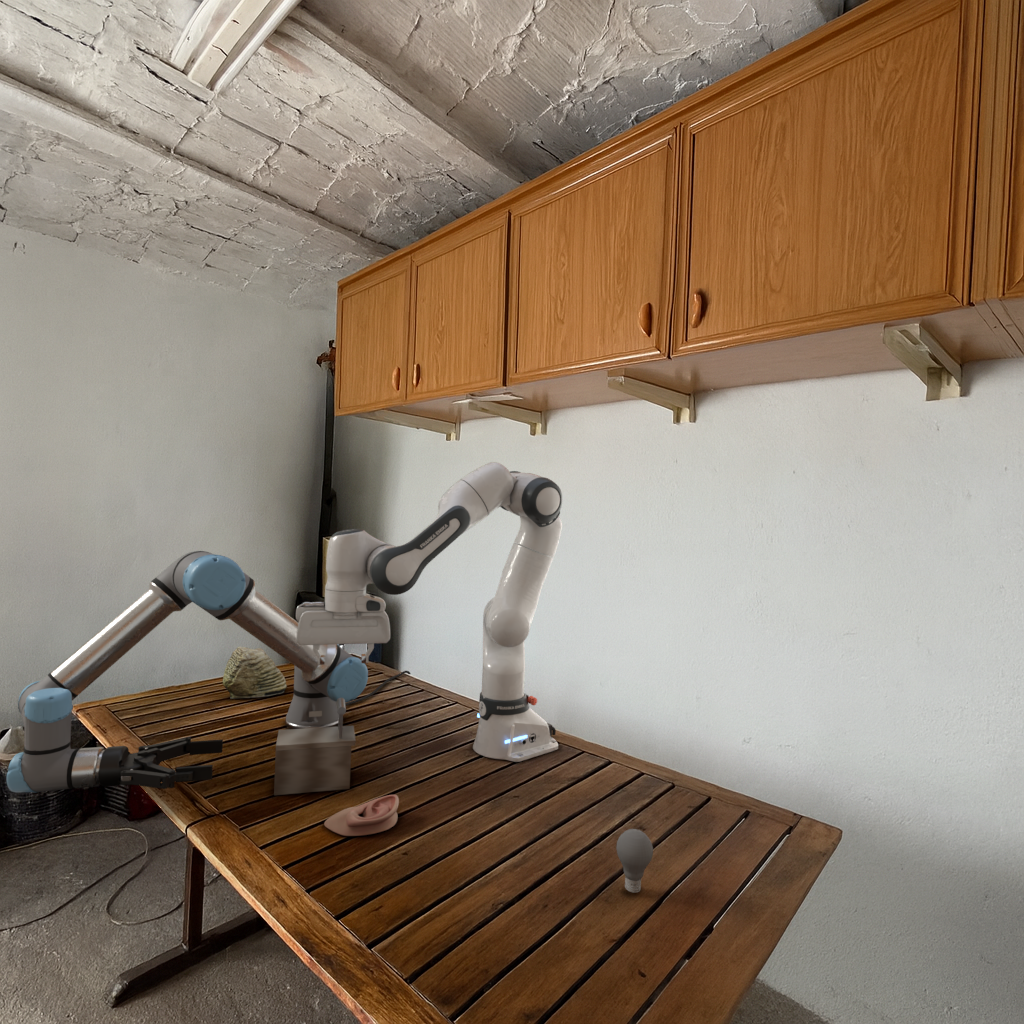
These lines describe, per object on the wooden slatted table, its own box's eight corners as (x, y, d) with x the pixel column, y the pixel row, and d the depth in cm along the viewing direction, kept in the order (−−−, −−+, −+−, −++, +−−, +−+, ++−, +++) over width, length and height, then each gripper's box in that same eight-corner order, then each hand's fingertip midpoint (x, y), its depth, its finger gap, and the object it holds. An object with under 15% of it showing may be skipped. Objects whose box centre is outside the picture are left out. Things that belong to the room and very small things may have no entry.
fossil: (218, 695, 195) (220, 647, 195) (278, 685, 208) (279, 640, 207) (228, 703, 189) (230, 653, 188) (289, 692, 201) (290, 645, 201)
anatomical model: (316, 810, 120) (344, 784, 131) (316, 831, 120) (344, 803, 131) (382, 821, 117) (405, 793, 128) (381, 842, 117) (404, 812, 128)
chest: (347, 771, 147) (349, 730, 146) (349, 789, 138) (351, 746, 138) (276, 776, 142) (278, 735, 142) (273, 795, 133) (275, 751, 133)
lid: (353, 730, 147) (354, 695, 147) (355, 745, 138) (356, 707, 138) (278, 734, 142) (279, 698, 142) (275, 750, 133) (277, 711, 133)
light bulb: (610, 879, 108) (613, 822, 108) (644, 879, 109) (647, 822, 109) (619, 902, 102) (622, 840, 102) (655, 901, 103) (658, 840, 103)
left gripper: (121, 759, 140) (225, 752, 146) (79, 815, 116) (206, 803, 122) (122, 726, 140) (226, 720, 146) (81, 774, 116) (207, 765, 122)
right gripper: (295, 604, 135) (293, 668, 135) (392, 603, 141) (390, 665, 141) (296, 599, 141) (294, 661, 141) (389, 599, 147) (387, 658, 147)
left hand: (217, 758), depth 134 cm, fingers open, 13 cm apart
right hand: (343, 663), depth 141 cm, fingers open, 8 cm apart
